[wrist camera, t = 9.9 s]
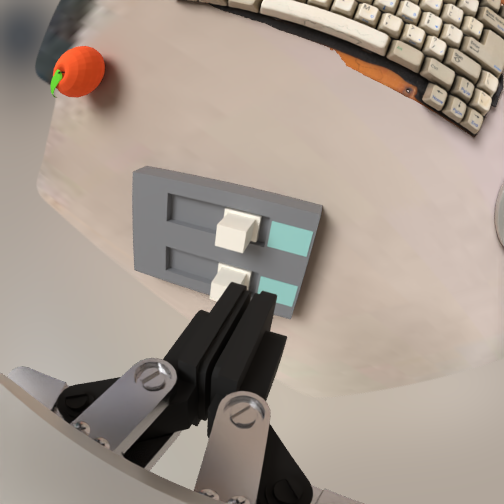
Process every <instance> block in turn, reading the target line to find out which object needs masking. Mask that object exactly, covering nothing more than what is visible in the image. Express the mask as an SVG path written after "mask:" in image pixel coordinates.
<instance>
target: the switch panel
mask: <svg viewBox="0 0 504 504" xmlns="http://www.w3.org/2000/svg"><path fill="white" fill-rule="evenodd" d="M226 207H230V208H234V209H238V210H242V211H246V212H250V213H254V214H258V215H262V220H261V225H260V230H259V236H258V240H257V242H253V241H250V243H249V244H248V246H247V248H246V249H245V251H244V252H243V253H240V252H236V251H233V250H229V249H225V248H222V247H218V246H215V239H216V230H217V224H218V223H219V222H220V221H221V220H222V219H223V218H224V211H225V208H226ZM132 208H133V249H134V269H135V270H136V271H138V272H141V273H144V274H147V275H150V276H153V277H156V278H159V279H162V280H165V281H168V282H171V283H174V284H177V285H180V286H183V287H186V288H189V289H192V290H195V291H198V292H201V293H204V294H207V295H210V291H211V282H212V281H213V279H214V278H215V276H216V275H217V273H218V264H219V262H222V263H225V264H228V265H232V266H235V267H239V268H242V269H246V270H249V271H252V276H251V281H250V287H249V290H248V291H251V299H252V297H253V296H254V294H255V293H258V294H260V293H261V291H266V292H269V293H273V294H276V295H277V300H276V305H275V310H274V314H273V315H277V316H280V317H284V318H288V319H291V317H292V314H293V311H294V307H295V304H296V301H297V297H298V294H299V291H300V287H301V284H302V281H303V277H304V274H305V270H306V267H307V264H308V260H309V257H310V253H311V249H312V246H313V242H314V239H315V235H316V231H317V228H318V224H319V220H320V216H321V212H322V205H319V204H315V203H311V202H307V201H303V200H300V199H296V198H292V197H288V196H284V195H280V194H276V193H272V192H267V191H263V190H259V189H255V188H251V187H246V186H242V185H238V184H233V183H229V182H224V181H219V180H215V179H210V178H205V177H201V176H196V175H191V174H186V173H181V172H176V171H171V170H165V169H160V168H155V167H149V166H145V167H143V168H141V169H138V170H136V171H134V172H133V193H132ZM251 299H250V301H251Z"/></svg>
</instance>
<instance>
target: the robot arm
mask: <svg viewBox="0 0 504 504" xmlns="http://www.w3.org/2000/svg"><path fill="white" fill-rule="evenodd" d="M495 226H496V231H497V235H498V237H499V240H500V242H501V243H502V245H503V247H504V183H503V184H502V186H501V189H500V192H499V194H498V198H497V202H496V208H495ZM250 299H251V291H248V290H247V286H245V285H242V284H238V283H235V282H231V283H230V284H229V285H228V287H227V288H226V290H225V291H224V293H223V294H222V296H221V297H220V298H219V300H218V301H217V303H216V304H215V306H214V307H213V309H212V310H211V312H210V313H209V312H206V311H203V310H200V311H198V313H197V314H196V315H195V316H194V318H193V319H192V320H191V322H190V323H189V325H188V326H187V327H186V329H185V330H184V331H183V333H182V334H181V336H180V337H179V338H178V340H177V341H176V342H175V344H174V345H173V346H172V348H171V349H170V351H169V352H168V353H167V355H166V356H165V357H164V359H163V360H162V359H158V358H148V359H144V360H141V361H139V362H137V363H136V364H135V365H134V366H132V367H131V368H130V369H129V370H128V371H127V372H126V373H125V374H124V375H123V376H122V377H119V378H114V379H107V380H102V381H96V382H90V383H84V384H78V385H73V386H68V385H67V384H66V382H64V381H61V380H58V379H56V378H53V377H50V376H48V375H45V374H43V373H40V372H38V371H36V370H33V369H31V368H29V367H24V366H21V367H17V368H15V369H13V370H12V371H11V372H10V373H9V375H8V376H7V377H6V376H5V375H3V374H2V373H0V504H364V503H361V502H358V501H356V500H352V499H350V498H347V497H345V496H342V495H339V494H337V493H335V492H332V491H330V490H327V489H324V490H322V489H319V488H317V487H314V486H312V485H311V484H310V482H309V481H308V479H307V478H306V476H305V475H304V473H303V472H302V471H301V469H300V468H299V466H298V465H297V463H296V462H295V461H294V459H293V458H292V456H291V455H290V453H289V452H288V451H287V449H286V447H285V446H284V444H283V443H282V442H281V440H280V438H279V437H278V435H277V434H276V432H275V431H274V430H273V428H272V426H271V425H270V408H269V406H268V404H267V402H266V400H267V397H268V394H269V392H270V389H271V386H272V383H273V381H274V378H275V375H276V372H277V369H278V366H279V363H280V360H281V357H282V354H283V350H284V347H285V343H286V339H287V336H284V335H280V334H277V333H273V332H270V328H271V323H272V319H273V314H274V310H275V305H276V300H277V295H276V294H273V293H269V292H266V291H261V293H260V294H258V293H255V294H254V296H253V297H252V299H251V301H250ZM207 418H208V429H207V436H208V438H209V441H208V444H207V448H206V451H205V454H204V458H203V461H202V465H201V468H200V471H199V475H198V478H197V481H196V485H195V489H194V491H192V490H190V489H187V488H185V487H183V486H180V485H178V484H176V483H173V482H171V481H169V480H167V479H164V478H162V477H160V476H158V475H156V474H154V473H152V472H150V469H151V468H152V467H153V466H154V465H155V464H156V462H157V461H158V460H159V459H160V458H161V457H162V455H163V454H164V453H165V452H166V450H167V449H168V448H169V447H170V446H171V445H172V443H173V442H174V441H175V440H176V439H177V437H178V436H179V435H180V433H181V431H182V430H185V429H189V428H190V426H191V424H193V425H195V426H198V424H199V422H200V420H201V419H202V420H204V421H206V420H207Z"/></svg>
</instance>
